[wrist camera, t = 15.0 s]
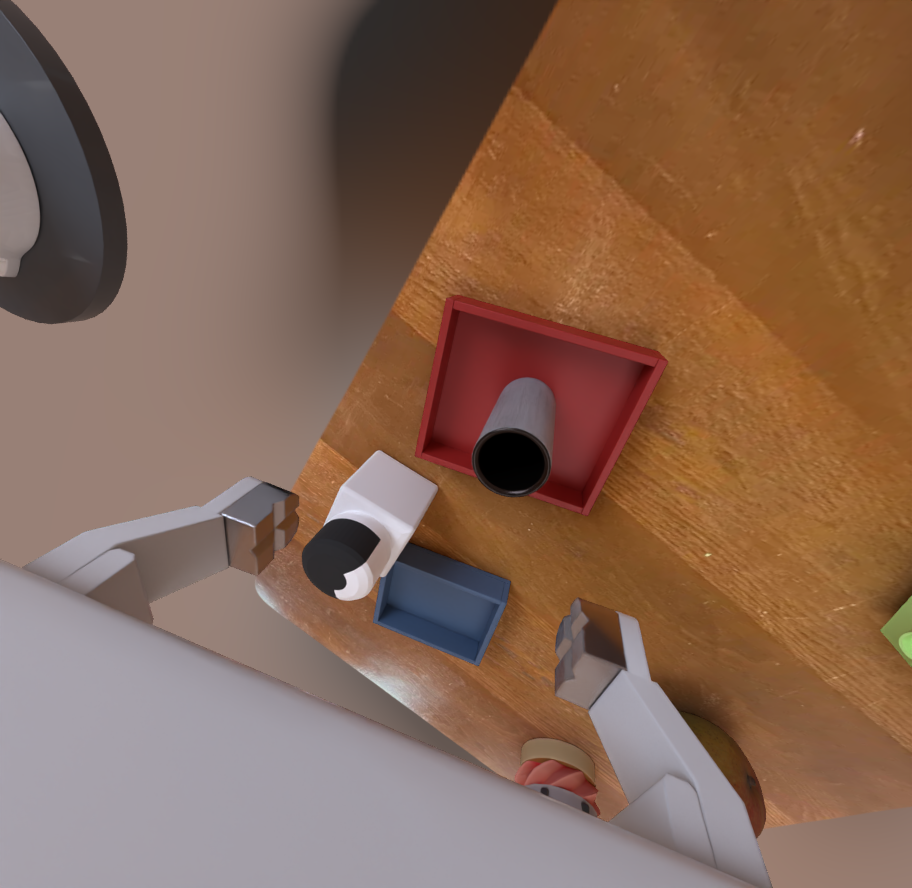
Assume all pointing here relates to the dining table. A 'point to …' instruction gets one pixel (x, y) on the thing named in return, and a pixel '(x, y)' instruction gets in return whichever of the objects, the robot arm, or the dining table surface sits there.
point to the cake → (559, 773)
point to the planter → (517, 440)
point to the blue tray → (441, 602)
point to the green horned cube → (901, 631)
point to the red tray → (551, 361)
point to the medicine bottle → (367, 527)
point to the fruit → (731, 767)
